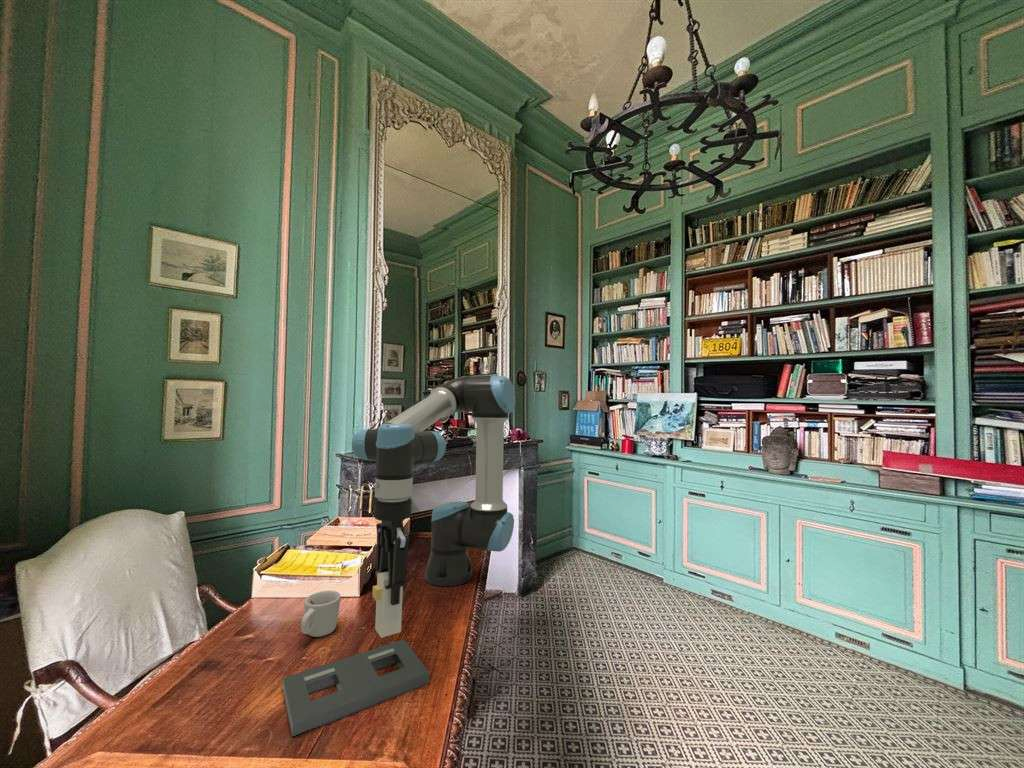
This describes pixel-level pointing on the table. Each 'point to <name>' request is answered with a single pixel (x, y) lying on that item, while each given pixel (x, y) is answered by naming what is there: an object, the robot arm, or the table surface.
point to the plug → (384, 608)
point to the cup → (320, 613)
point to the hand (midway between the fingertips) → (388, 614)
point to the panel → (351, 685)
